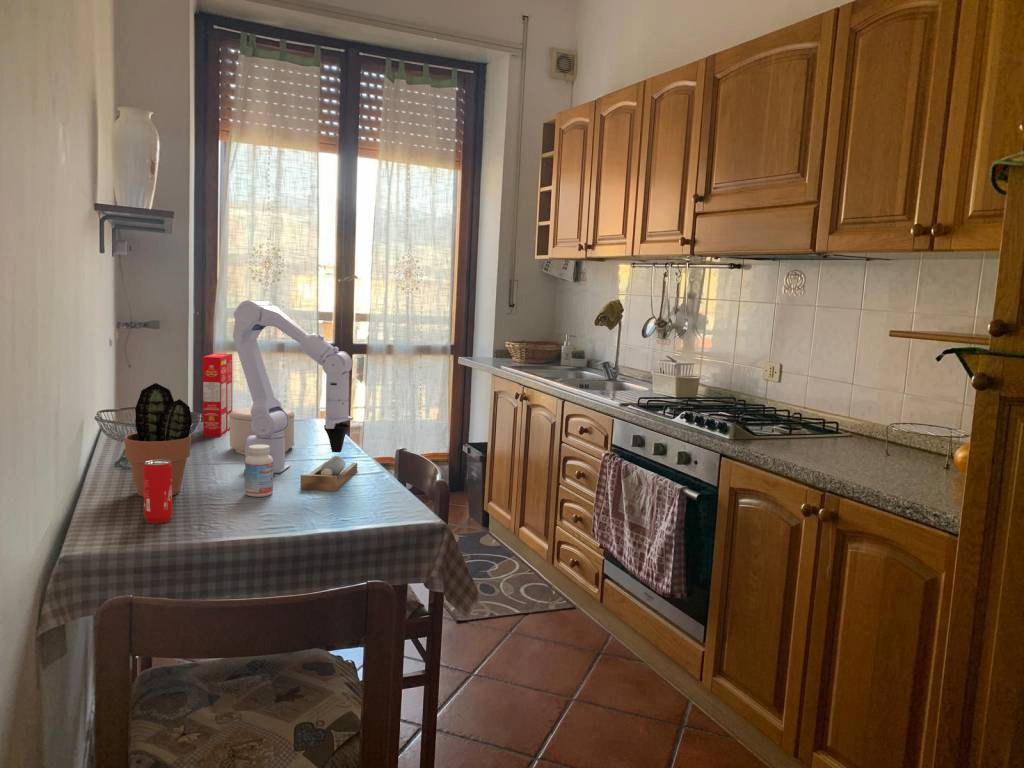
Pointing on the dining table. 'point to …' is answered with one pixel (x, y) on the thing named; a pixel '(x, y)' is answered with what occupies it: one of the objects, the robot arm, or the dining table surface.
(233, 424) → the container
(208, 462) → the dining table surface
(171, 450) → the potted plant
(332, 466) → the bottle
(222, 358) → the food packaging
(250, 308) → the robot arm
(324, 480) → the cradle
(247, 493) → the pill bottle
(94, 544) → the dining table surface
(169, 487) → the beverage can
